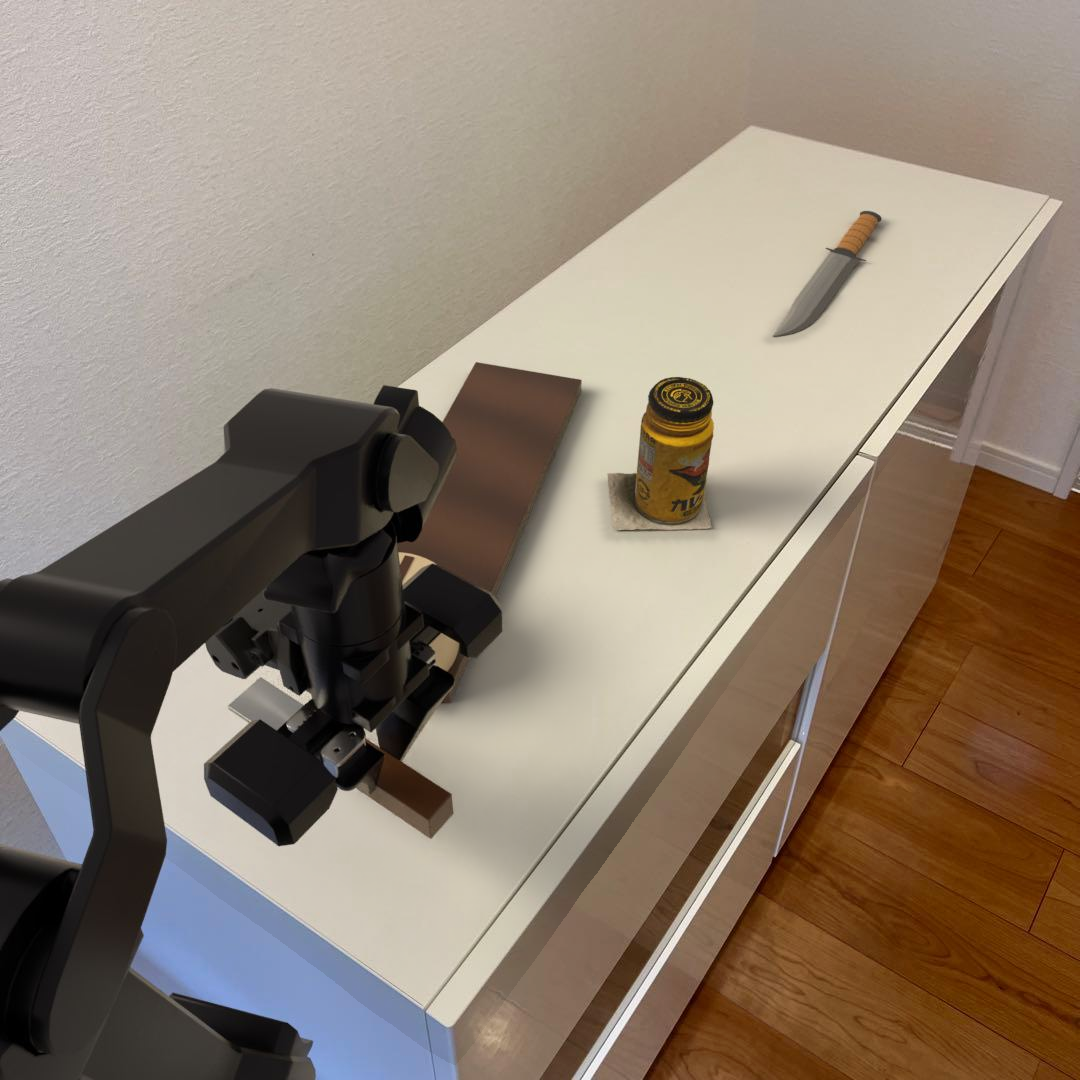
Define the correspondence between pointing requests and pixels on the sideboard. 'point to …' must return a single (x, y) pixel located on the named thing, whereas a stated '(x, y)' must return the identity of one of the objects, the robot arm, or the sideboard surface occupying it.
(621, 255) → the sideboard surface
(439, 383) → the sideboard surface
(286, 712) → the cake knife
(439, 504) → the serving board
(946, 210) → the sideboard surface
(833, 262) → the knife
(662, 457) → the condiment
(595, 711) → the sideboard surface
